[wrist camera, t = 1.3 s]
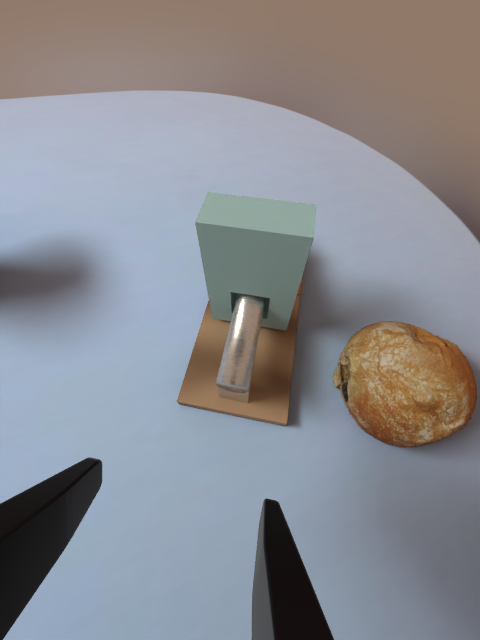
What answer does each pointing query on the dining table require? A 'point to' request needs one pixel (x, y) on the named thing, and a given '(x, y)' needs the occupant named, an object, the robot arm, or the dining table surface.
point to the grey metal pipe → (240, 349)
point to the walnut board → (267, 372)
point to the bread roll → (405, 384)
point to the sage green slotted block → (254, 252)
